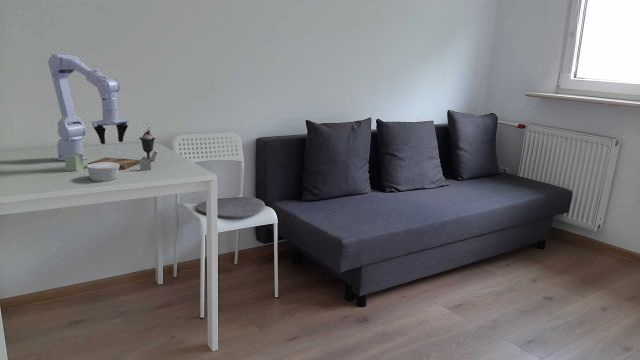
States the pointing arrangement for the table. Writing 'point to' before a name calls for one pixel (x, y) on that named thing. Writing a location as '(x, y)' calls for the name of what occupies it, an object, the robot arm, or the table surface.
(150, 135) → the sundae
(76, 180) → the table surface
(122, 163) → the board
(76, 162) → the block
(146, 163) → the lighter
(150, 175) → the table surface
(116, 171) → the ramekin
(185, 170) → the table surface
